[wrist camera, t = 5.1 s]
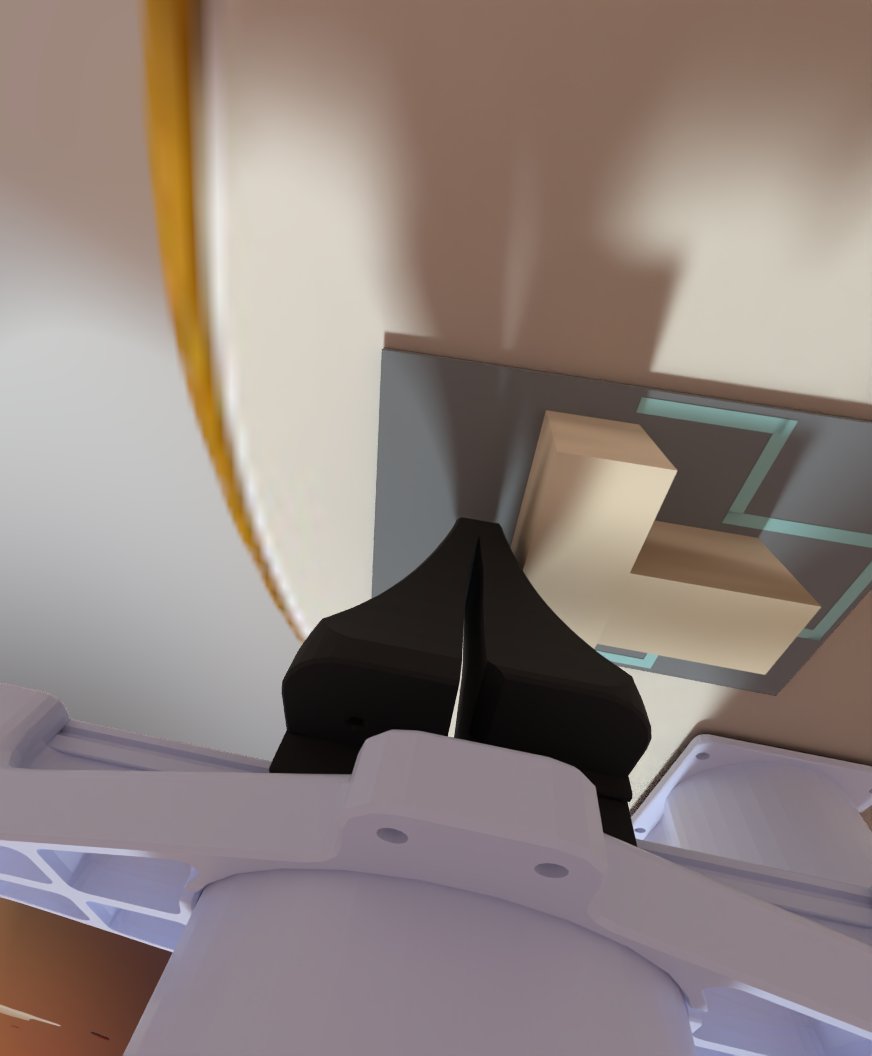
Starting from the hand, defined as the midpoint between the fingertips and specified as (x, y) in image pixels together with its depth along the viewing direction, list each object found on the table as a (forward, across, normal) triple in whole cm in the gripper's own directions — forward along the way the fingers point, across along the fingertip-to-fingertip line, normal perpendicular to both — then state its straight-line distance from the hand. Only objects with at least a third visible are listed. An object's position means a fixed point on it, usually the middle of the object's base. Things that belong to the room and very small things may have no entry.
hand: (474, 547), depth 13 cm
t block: (+1, -5, 0) cm, 5 cm away
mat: (+1, -4, 0) cm, 5 cm away
